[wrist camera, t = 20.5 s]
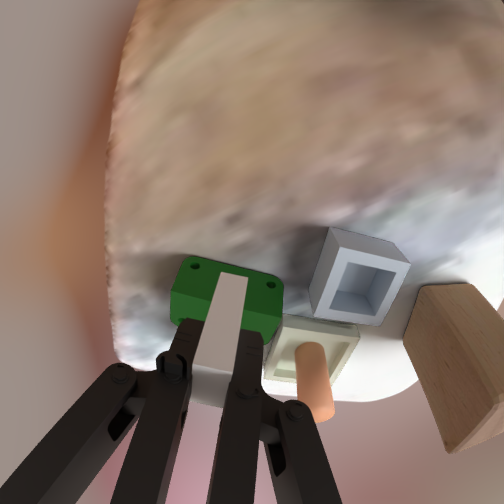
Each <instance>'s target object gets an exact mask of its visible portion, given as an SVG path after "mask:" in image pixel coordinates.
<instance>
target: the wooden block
mask: <svg viewBox="0 0 504 504" xmlns="http://www.w3.org/2000/svg"><path fill="white" fill-rule="evenodd" d="M403 345H404V347H405V349H406V351H407V353H408V356H409V358H410V360H411V362H412V364H413V367H414V369H415V371H416V374H417V376H418V378H419V381H420V383H421V385H422V388H423V390H424V392H425V395H426V397H427V400H428V403H429V405H430V408H431V410H432V413H433V415H434V418H435V421H436V424H437V426H438V429H439V432H440V434H441V437H442V440H443V443H444V447H445V449H446V451H447V452H448V453H449V454H453V453H457V452H460V451H462V450H465V449H467V448H470V447H472V446H474V445H477V444H479V443H481V442H483V441H485V440H488V439H490V438H492V437H494V436H496V435H498V434H500V433H502V432H503V431H504V320H503V318H502V317H501V316H500V315H499V314H498V313H497V311H496V310H495V309H494V308H493V307H492V305H491V304H490V303H489V302H488V301H487V300H486V298H485V297H484V296H483V295H482V294H481V293H480V292H479V291H478V290H477V288H476V287H475V286H473V285H472V284H469V283H468V284H450V285H429V286H423V287H421V289H420V290H419V293H418V296H417V299H416V303H415V306H414V309H413V312H412V315H411V317H410V320H409V323H408V326H407V329H406V331H405V334H404V337H403Z"/></svg>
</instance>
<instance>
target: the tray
mask: <svg viewBox="0 0 504 504" xmlns="http://www.w3.org/2000/svg"><path fill="white" fill-rule="evenodd" d="M359 340H360V335H359V332H358V329H357V326H356V325H351V324H344V323H338V322H331V321H325V320H318V319H312V318H306V317H300V316H294V315H289V314H282V319H281V321H280V323H279V326H278V329H277V332H276V335H275V338H274V340H273V343H272V346H271V349H270V352H269V354H268V357H267V360H266V363H265V365H264V379H267V380H274V381H281V382H289V383H297V382H296V368H295V354H294V353H295V350H296V348H297V347H298V346H299V345H301V344H303V343H306V342H317V343H319V344H321V345H322V346H323V347H324V351H325V356H326V362H327V367H328V373H329V379H330V385H331V386H332V385H333V383H334V382H335V380H336V379H337V377H338V375H339V374H340V372H341V371H342V369H343V367H344V366H345V364H346V362H347V361H348V359H349V357H350V356H351V354H352V352H353V350H354V349H355V347H356V345H357V343H358V342H359Z"/></svg>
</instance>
